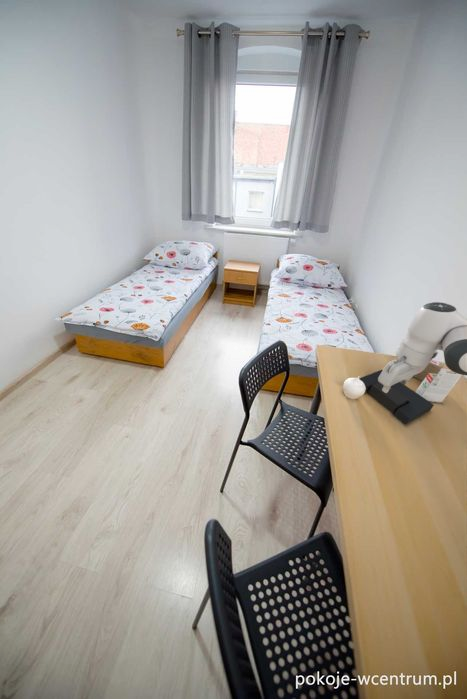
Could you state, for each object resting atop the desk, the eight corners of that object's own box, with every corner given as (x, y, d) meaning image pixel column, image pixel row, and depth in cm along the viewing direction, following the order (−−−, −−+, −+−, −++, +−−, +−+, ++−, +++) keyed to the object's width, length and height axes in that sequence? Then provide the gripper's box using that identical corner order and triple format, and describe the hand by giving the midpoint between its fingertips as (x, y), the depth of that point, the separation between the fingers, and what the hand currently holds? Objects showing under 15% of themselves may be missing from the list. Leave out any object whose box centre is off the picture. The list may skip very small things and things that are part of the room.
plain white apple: (362, 393, 97) (371, 375, 92) (359, 405, 91) (368, 387, 87) (342, 385, 99) (349, 368, 95) (338, 397, 94) (346, 379, 89)
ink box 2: (414, 393, 100) (435, 361, 92) (436, 396, 100) (459, 364, 92) (418, 400, 97) (441, 367, 89) (441, 403, 97) (465, 371, 89)
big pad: (429, 411, 93) (434, 404, 91) (405, 425, 87) (410, 418, 85) (378, 375, 107) (382, 369, 105) (355, 384, 100) (358, 378, 98)
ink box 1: (432, 381, 107) (444, 364, 103) (430, 385, 105) (442, 368, 100) (405, 368, 113) (415, 351, 108) (402, 372, 110) (412, 355, 105)
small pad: (403, 407, 93) (408, 399, 91) (392, 413, 90) (398, 404, 88) (378, 388, 100) (382, 380, 98) (367, 393, 97) (371, 385, 95)
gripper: (403, 367, 77) (382, 403, 84) (441, 351, 86) (419, 384, 94) (383, 355, 81) (365, 390, 89) (421, 341, 90) (402, 373, 98)
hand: (393, 387), depth 91 cm, fingers open, 8 cm apart
